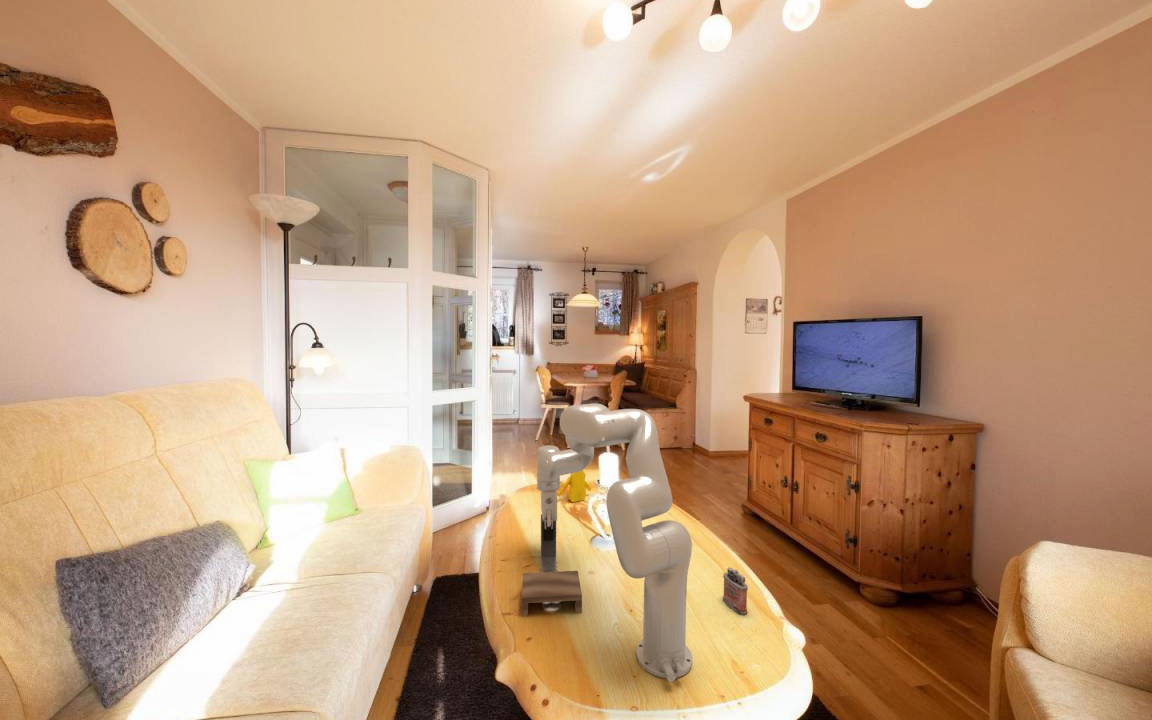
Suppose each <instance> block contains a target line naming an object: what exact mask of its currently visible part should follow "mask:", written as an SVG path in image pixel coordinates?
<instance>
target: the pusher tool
mask: <svg viewBox="0 0 1152 720" xmlns="http://www.w3.org/2000/svg"><path fill="white" fill-rule="evenodd" d="M546 519H547V518H546ZM551 519H552V518H551ZM546 523H547V522H546ZM544 528H545V521H543V518H542V513H541V514H540V567H541V568H540V569H541V572H559V571H558V563H557V562H558V561H557V521H554V520H553V528H554V540H553V541H544Z"/></svg>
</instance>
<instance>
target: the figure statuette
mask: <svg viewBox="0 0 1152 720" xmlns="http://www.w3.org/2000/svg"><path fill="white" fill-rule="evenodd" d="M563 484H564V485H562V487H561V488H560V489H559V491H557V497H559V498H560V497H561V495H562V494H563V493H564V491H565V490H566V489H567V488H568V486H569V488H568V494H567V495H568V498H567V499H568V501H570V502H571V503H577V502H581V501H585V500H586V496H587V490H588V492H589V491H590V492H591V490H592V487H591V486H590V485H589V484H588V482H587V481H586V473H585V472H584V470H582V471H580V472H576V473H570V474H569V477H567V480H566V481H565V483H563ZM586 489H587V490H586Z"/></svg>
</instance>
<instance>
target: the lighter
mask: <svg viewBox="0 0 1152 720" xmlns="http://www.w3.org/2000/svg"><path fill="white" fill-rule="evenodd" d="M726 569H727V572H724V573H722V574H723V576H722V577H723V597H722V602H723V603H724V604H725V605H726V606H727V607H728V608H729V609H730V610H731V611H733V612H734V613H736V614H737V615H738V616H743V617H745V616H747V615H748V609H747V605H748V604H747V602H748V596H747V594H748V588H749V586H748V584H747V583H746V577H745V576H744V575H742V574H741V573H739V571H738V569H734V568H733V567H730V566H729V567H727V568H726Z"/></svg>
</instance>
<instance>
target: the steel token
mask: <svg viewBox="0 0 1152 720" xmlns="http://www.w3.org/2000/svg"><path fill="white" fill-rule="evenodd" d="M561 602H562V601H557V602H541V603H542V609H543V611H544V612H547V613H556V612H558V611H559V610H560V609H561V607H562V606H561V605H562V603H561Z"/></svg>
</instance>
